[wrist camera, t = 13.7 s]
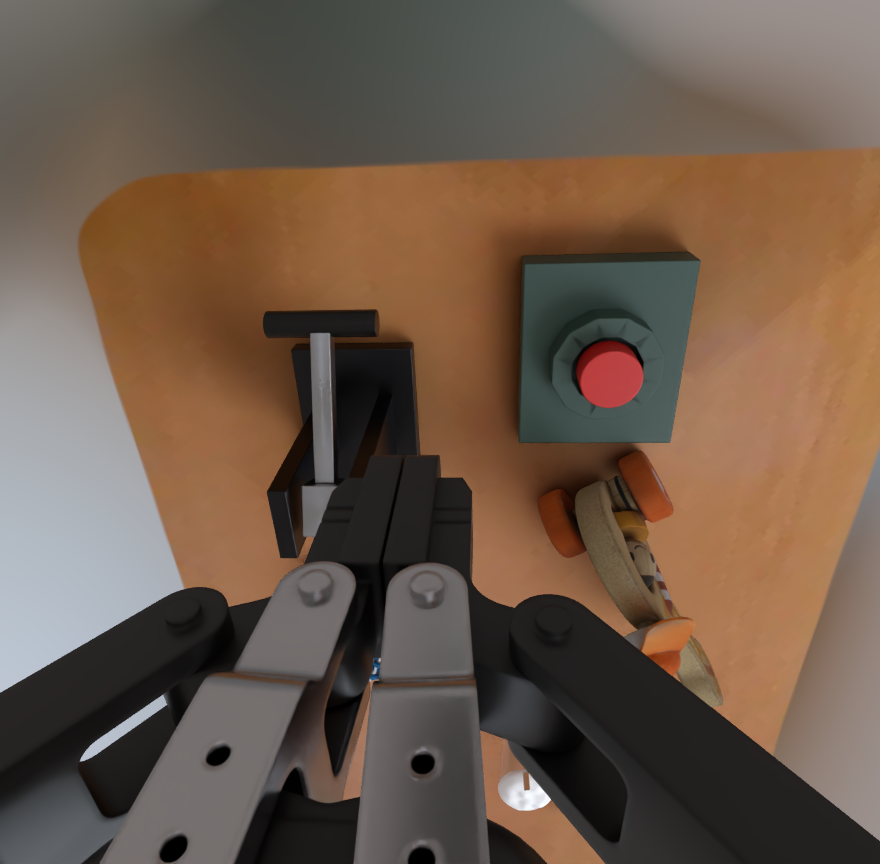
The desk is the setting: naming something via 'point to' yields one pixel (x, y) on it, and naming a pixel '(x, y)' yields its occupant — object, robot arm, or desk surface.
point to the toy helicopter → (631, 565)
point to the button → (609, 374)
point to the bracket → (348, 424)
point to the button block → (596, 320)
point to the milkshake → (518, 783)
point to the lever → (321, 391)
